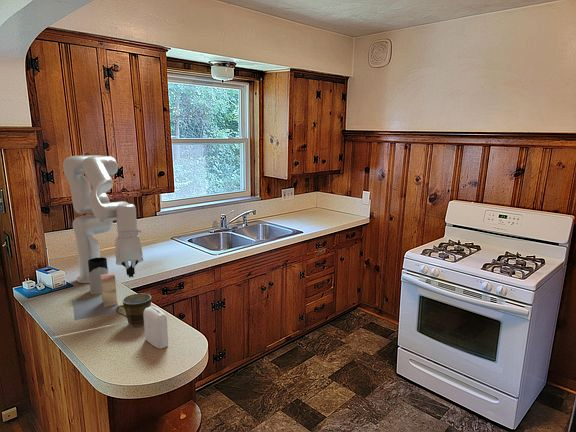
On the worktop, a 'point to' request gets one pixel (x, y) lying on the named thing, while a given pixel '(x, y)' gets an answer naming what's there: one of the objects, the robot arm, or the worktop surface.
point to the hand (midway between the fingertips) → (130, 276)
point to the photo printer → (155, 327)
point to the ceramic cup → (135, 308)
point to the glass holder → (96, 273)
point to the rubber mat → (92, 308)
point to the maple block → (108, 289)
